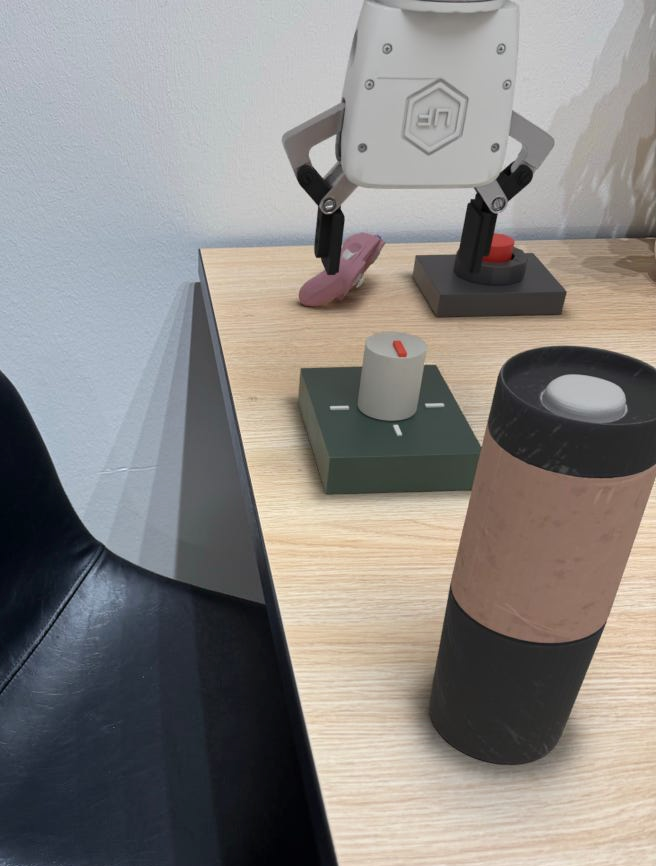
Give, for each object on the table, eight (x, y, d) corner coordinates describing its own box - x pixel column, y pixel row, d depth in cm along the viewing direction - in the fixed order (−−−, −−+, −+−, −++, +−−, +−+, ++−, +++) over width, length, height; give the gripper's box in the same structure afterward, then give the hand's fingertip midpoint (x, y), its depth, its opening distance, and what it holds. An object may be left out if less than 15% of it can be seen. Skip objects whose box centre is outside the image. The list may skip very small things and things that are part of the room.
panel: (297, 401, 85) (300, 365, 83) (430, 398, 85) (436, 362, 83) (325, 494, 74) (330, 455, 72) (477, 489, 75) (485, 451, 73)
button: (504, 250, 101) (508, 232, 100) (515, 264, 98) (519, 245, 97) (468, 251, 101) (471, 233, 100) (478, 265, 98) (481, 246, 97)
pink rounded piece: (330, 328, 99) (369, 269, 94) (291, 300, 99) (329, 239, 94) (362, 292, 106) (400, 235, 101) (326, 265, 106) (363, 207, 101)
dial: (352, 394, 79) (360, 327, 76) (409, 392, 80) (419, 326, 76) (363, 422, 76) (372, 354, 73) (422, 420, 76) (434, 352, 73)
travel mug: (395, 717, 57) (461, 382, 44) (472, 652, 61) (553, 328, 48) (519, 792, 53) (631, 446, 40) (592, 717, 57) (716, 382, 44)
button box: (528, 274, 106) (537, 234, 103) (561, 314, 98) (572, 272, 96) (412, 276, 105) (418, 236, 103) (436, 317, 98) (443, 275, 95)
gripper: (304, -17, 57) (280, 290, 68) (614, -16, 58) (540, 287, 69) (286, -38, 62) (266, 248, 74) (567, -36, 63) (506, 246, 74)
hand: (398, 267), depth 71 cm, fingers open, 9 cm apart
